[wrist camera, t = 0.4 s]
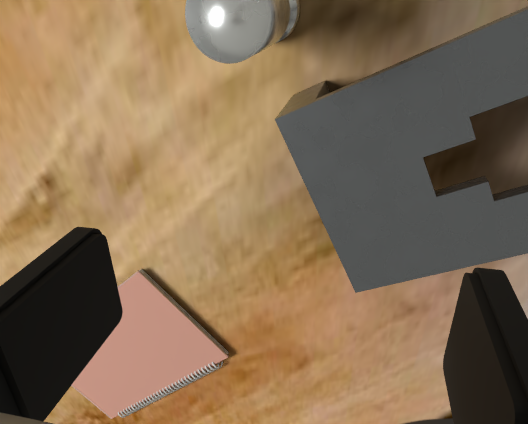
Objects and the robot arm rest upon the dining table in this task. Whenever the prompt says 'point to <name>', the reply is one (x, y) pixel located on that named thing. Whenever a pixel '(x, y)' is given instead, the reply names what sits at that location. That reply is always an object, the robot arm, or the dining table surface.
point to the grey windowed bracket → (412, 158)
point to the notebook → (147, 351)
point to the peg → (239, 26)
